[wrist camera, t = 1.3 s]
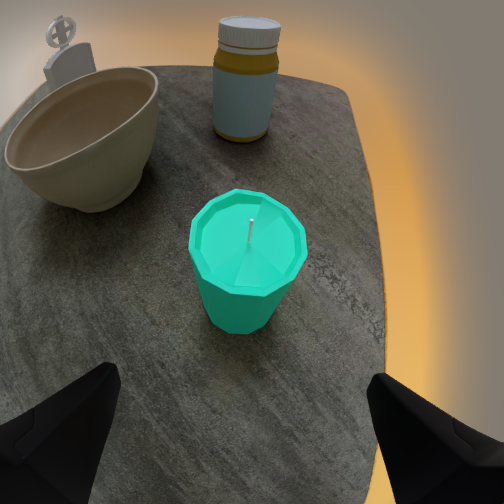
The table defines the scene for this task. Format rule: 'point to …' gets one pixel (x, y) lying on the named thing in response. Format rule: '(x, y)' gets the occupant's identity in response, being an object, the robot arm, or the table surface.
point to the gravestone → (67, 55)
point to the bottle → (244, 77)
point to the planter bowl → (88, 139)
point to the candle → (245, 257)
